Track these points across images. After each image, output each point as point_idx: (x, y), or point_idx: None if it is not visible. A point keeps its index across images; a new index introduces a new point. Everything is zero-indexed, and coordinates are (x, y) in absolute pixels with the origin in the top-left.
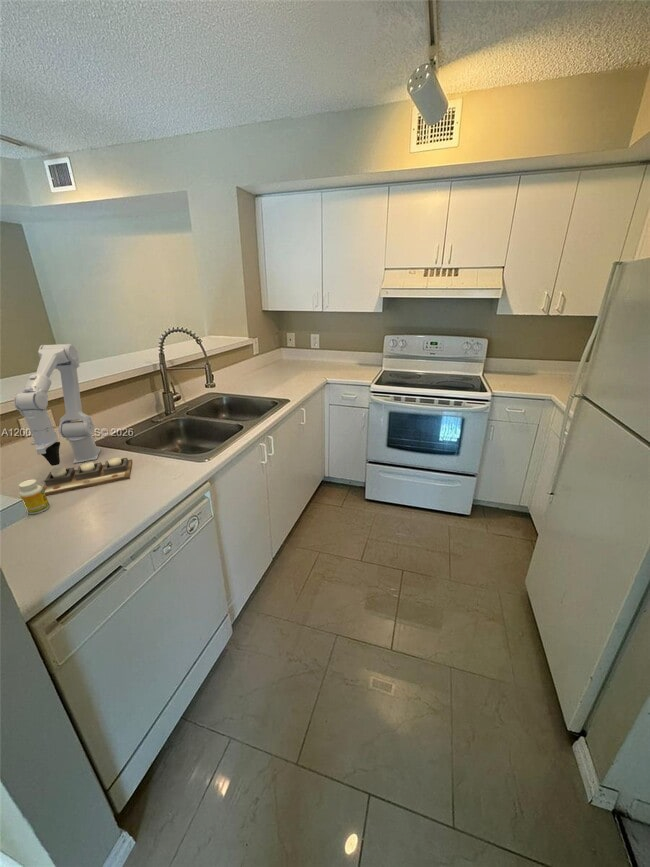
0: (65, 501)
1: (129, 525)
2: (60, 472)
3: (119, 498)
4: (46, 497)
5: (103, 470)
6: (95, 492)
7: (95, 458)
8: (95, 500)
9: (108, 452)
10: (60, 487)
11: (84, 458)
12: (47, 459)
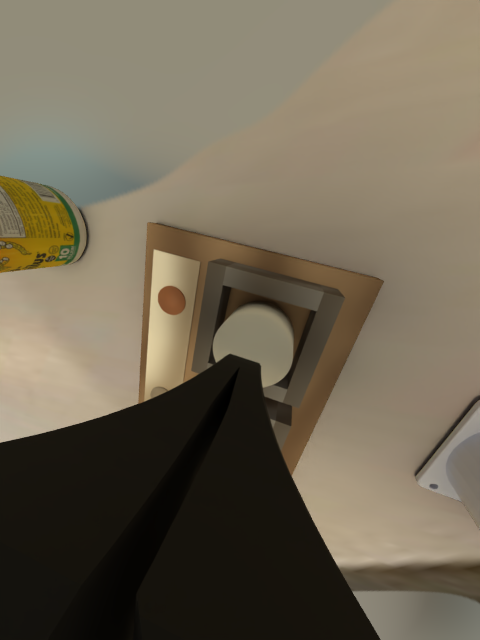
0: (81, 312)
1: None
2: (217, 356)
3: (47, 422)
4: (25, 269)
5: None
6: (101, 391)
7: (420, 483)
8: (56, 380)
9: (466, 531)
10: (165, 313)
11: (460, 460)
12: (186, 387)
